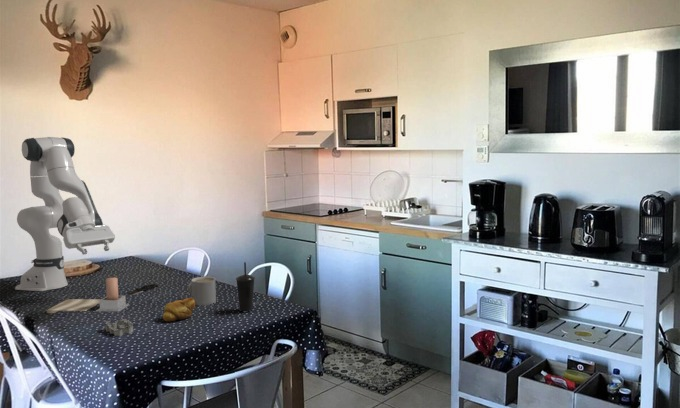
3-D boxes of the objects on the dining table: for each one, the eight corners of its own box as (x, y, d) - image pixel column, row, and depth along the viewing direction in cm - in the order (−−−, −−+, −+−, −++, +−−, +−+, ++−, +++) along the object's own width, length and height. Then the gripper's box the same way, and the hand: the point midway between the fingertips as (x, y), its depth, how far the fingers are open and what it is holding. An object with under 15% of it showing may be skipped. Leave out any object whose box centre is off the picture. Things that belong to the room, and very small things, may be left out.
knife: (119, 301, 242) (119, 298, 242) (109, 299, 245) (109, 296, 244) (161, 287, 264) (161, 284, 264) (151, 286, 267) (151, 283, 267)
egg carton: (103, 330, 203) (103, 320, 202) (124, 326, 208) (123, 315, 207) (114, 338, 195) (114, 326, 194) (135, 333, 200) (135, 322, 199)
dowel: (105, 309, 225) (103, 280, 224) (110, 305, 229) (108, 277, 228) (116, 309, 225) (114, 280, 224) (120, 306, 229) (119, 277, 228)
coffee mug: (220, 302, 238) (219, 279, 237) (200, 307, 231) (199, 283, 230) (203, 296, 247) (202, 274, 246) (183, 301, 240) (182, 278, 239)
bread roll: (169, 325, 208) (168, 304, 207) (155, 320, 214) (154, 299, 213) (198, 317, 217) (197, 297, 217) (184, 312, 224) (183, 292, 223)
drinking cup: (259, 308, 227) (257, 261, 225) (250, 314, 220) (248, 264, 218) (242, 307, 230) (241, 259, 228) (233, 312, 223) (231, 263, 221)
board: (46, 313, 223) (46, 310, 223) (67, 301, 239) (67, 299, 239) (85, 313, 223) (85, 310, 223) (104, 302, 239) (103, 299, 238)
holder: (95, 313, 223) (94, 301, 222) (106, 306, 232) (106, 294, 232) (119, 313, 222) (119, 301, 222) (130, 306, 232) (129, 294, 232)
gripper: (105, 229, 247) (117, 252, 242) (58, 235, 232) (70, 260, 226) (109, 219, 244) (122, 243, 238) (61, 225, 229) (74, 250, 223)
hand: (96, 251), depth 232 cm, fingers open, 8 cm apart
